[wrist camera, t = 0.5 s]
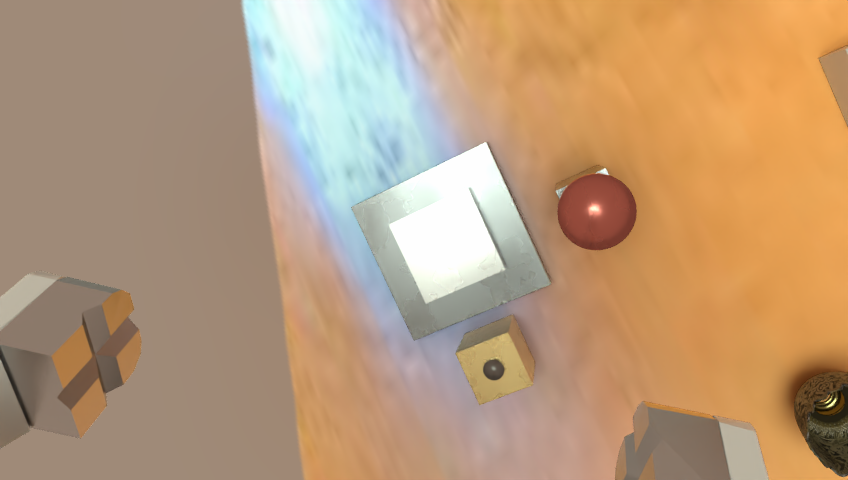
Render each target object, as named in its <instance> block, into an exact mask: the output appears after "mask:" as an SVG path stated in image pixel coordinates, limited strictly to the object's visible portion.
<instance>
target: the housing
mask: <svg viewBox="0 0 848 480" xmlns="http://www.w3.org/2000/svg"><path fill="white" fill-rule="evenodd" d="M455 354H456V356H457V358H458V360H459V362H460V364H461V366H462V368H463V371H464V373H465V375H466V377H467V379H468V381H469V383H470V386H471V388H472V390H473V392H474V394H475V396H476V398H477V400H478V403H479V405H481V404H484V403H486V402H489V401H492V400H494V399H497V398H500V397H502V396H505V395H508V394H510V393H513V392H516V391H518V390H521V389H524V388H526V387H529V386H532V385H533V379H534V368H535V361H534V359H533V357H532V354H531V352H530V350H529V348H528V346H527V344H526V341H525V339H524V337H523V335H522V333H521V331H520V328H519V326H518V324H517V322H516V320H515V318H514V316H513V314H512V315H510V316H507V317H505V318H502V319H500V320H498V321H495V322H493V323H490V324H488V325H485V326H483V327H480V328H478V329H475V330H473V331H470V332H468V333H466V334H465V335H464V337H463V339H462V341H461V343H460V345H459V347H458V349H457V351H456V353H455Z"/></svg>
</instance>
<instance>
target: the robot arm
mask: <svg viewBox="0 0 848 480" xmlns="http://www.w3.org/2000/svg"><path fill="white" fill-rule="evenodd" d="M133 310H134V306H133V303H132V300H131V296H130V293H127V292H125V291H123V290H120V289H116V288H111V287H107V286H103V285H99V284H95V283H91V282H87V281H83V280H79V279H74V278H70V277H64V276H60V275H56V274H51V273H47V272H43V271H37V272H34V273H30V274H28V275H26V276H25V277H24V278H23V279H22V280H20V281H19V282H18V283H17V284H16V285H15V286H13V287H12V288H11V289H10V290H9V291H7V292H6V293H5V294H4V295H3V296H1V297H0V448H2V447H4V446H6V445H7V444H9V443H11V442H12V441H14V440H16V439H17V438H19V437H20V436H22V435H24V434H26V433H27V432H29V431H30V428H34V429H39V430H44V431H48V432H53V433H58V434H62V435H67V436H72V437H76V438H81V437H82V436H83V435H84V434H85V432H86V431H87V430H88V429H89V427H90V426H91V425H92V423H93V422H94V421H95V420H96V419H97V417H98V416H99V415H100V414H101V412H102V411H103V410H104V409H105V407H106V406H107V400H106V399H107V396H106V393H107V392H109V391H112V390H114V389H115V388H117V387H120V386H122V385H123V384H124V383H125V382H126V380H127V379H128V378H129V377H130V375H131V374H132V373H133V371H134V369H135V367H136V364H137V361H138V359H139V357H140V354H141V337H140V331H139V329H138V328H137V327H136V326H135V324H134V323H133V322H132V321H131V320H130V319H129V318H128V317H129V315H130V314H131V313H132V311H133ZM633 426H634V432H633V433H632V434H630V435H628V436H626V437H624V440H623V443H622V445H621V448H620V451H619V455H618V460H617V465H616V471H615V480H769V477H768V473H767V470H766V466H765V463H764V459H763V456H762V452H761V448H760V445H759V441H758V438H757V434H756V431H755V429H754V427H753V426H752V425H751V424H750V423H748V422H743V421H738V420H733V419H728V418H723V417H719V416H711V415H709V414H704V413H699V412H694V411H689V410H685V409H680V408H675V407H670V406H665V405H660V404H655V403H650V402H645V401H642V402H641V403H640V405H639V406H638V407H637V410H636V412H635V414H634V416H633ZM29 427H30V428H29Z"/></svg>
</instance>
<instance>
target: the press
mask: <svg viewBox="0 0 848 480" xmlns="http://www.w3.org/2000/svg"><path fill="white" fill-rule="evenodd" d="M592 173H601V174H606V175H609V174H608V172H607V170H606V168H604V167H602V166H600V165H596V166H594V167H592V168H590V169H587V170H585V171H583V172H581V173H579V174H576V175H574V176H572V177H570V178H568V179H565V180H563V181H561V182H559V183H556V193H557V195H558V197H559V199H560V197H561V194H562V193H563V191H564V189H565V188H566V187H567V186H568V185H569V184H570V183H571V182H572V181H574V180H575V179H577V178H579V177H581V176H583V175H587V174H592ZM351 208H352V210H353V212H354V214H355V217H356V219H357V221H358V223H359V225H360V227H361V229H362V231H363V234H364V236H365V238H366V240H367V242H368V244H369V246H370V248H371V250H372V253H373V255H374V257H375V259H376V261H377V263H378V265H379V267H380V270H381V272H382V274H383V276H384V278H385V280H386V282H387V284H388V287H389V289H390V291H391V293H392V295H393V297H394V299H395V301H396V303H397V306H398V308H399V310H400V312H401V314H402V316H403V318H404V320H405V323H406V325H407V327H408V329H409V331H410V333H411V335H412V337H413V340H417V339H419V338H422V337H424V336H426V335H429V334H431V333H434V332H436V331H439V330H441V329H443V328H446V327H448V326H451V325H453V324H456V323H458V322H460V321H463V320H465V319H468V318H470V317H473V316H475V315H477V314H480V313H482V312H485V311H487V310H490V309H492V308H494V307H497V306H499V305H502V304H504V303H507V302H509V301H511V300H514V299H516V298H519V297H521V296H524V295H526V294H528V293H531V292H533V291H536V290H538V289H541V288H543V287H545V286H548V285H550V284H551V280H550V278H549V276H548V274H547V271H546V269H545V267H544V265H543V263H542V261H541V258H540V256H539V254H538V252H537V250H536V247H535V245H534V243H533V241H532V239H531V237H530V234H529V232H528V230H527V228H526V226H525V224H524V221H523V219H522V217H521V215H520V213H519V210H518V208H517V206H516V204H515V202H514V200H513V197H512V195H511V193H510V191H509V189H508V186H507V184H506V182H505V180H504V178H503V176H502V173H501V171H500V169H499V167H498V165H497V162H496V160H495V158H494V156H493V154H492V152H491V149H490V147H489V145H488V143H487V142H485V143H483V144H481V145H479V146H477V147H475V148H473V149H471V150H469V151H467V152H465V153H463V154H460V155H458V156H456V157H454V158H452V159H450V160H448V161H446V162H444V163H442V164H440V165H438V166H436V167H433V168H431V169H429V170H427V171H425V172H423V173H421V174H419V175H417V176H415V177H413V178H411V179H409V180H407V181H404V182H402V183H400V184H398V185H396V186H394V187H392V188H390V189H388V190H386V191H384V192H382V193H380V194H377V195H375V196H373V197H371V198H369V199H367V200H365V201H363V202H361V203H359V204H357V205H355V206H353V207H351Z"/></svg>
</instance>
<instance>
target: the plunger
mask: <svg viewBox="0 0 848 480" xmlns="http://www.w3.org/2000/svg"><path fill="white" fill-rule="evenodd" d="M558 220H559V224H560V227H561V229H562V231H563V233H564V234H565V235H566V237H567V238H568V239H569V240H570V241H572V242H573V243H574V244H576V245H578V246H580V247H582V248H585V249H590V250H603V249H608V248H611V247H613V246H615V245H617V244H619V243H620V242H621V241H623V240H624V239H625V238H626V237H627V236H628V235H629V233H630V232H631V230H632V228H633V226H634V223H635V220H636V203H635V200H634V197H633V195H632V193H631V192H630V190H629V189H628V188H627V187H626V185H625V184H623V183H622V182H621V181H619V180H618V179H616V178H614V177H612V176H610V175H606V174H601V173H592V174H587V175H583V176H581V177H579V178H577V179H575V180H574V181H572V182H571V183H570V184H569V185H568V186H567V187H566V188H565V189H564V191H563V193H562V194H561V197H560V199H559V203H558Z"/></svg>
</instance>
